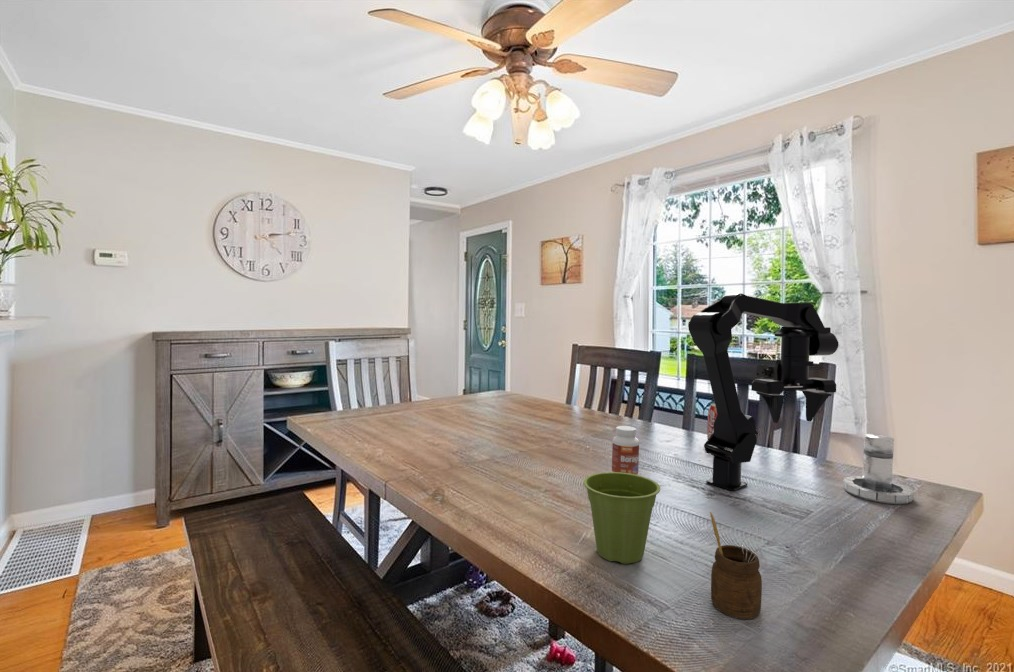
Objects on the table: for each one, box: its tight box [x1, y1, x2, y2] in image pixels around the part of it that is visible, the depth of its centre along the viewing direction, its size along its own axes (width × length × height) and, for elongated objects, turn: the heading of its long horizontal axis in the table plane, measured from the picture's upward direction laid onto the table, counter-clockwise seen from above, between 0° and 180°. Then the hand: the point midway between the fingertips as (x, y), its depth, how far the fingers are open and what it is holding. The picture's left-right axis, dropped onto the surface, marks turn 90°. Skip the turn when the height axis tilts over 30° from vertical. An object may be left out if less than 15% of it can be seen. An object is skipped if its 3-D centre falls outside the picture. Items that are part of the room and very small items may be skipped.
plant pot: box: [582, 471, 661, 565], centre depth 76 cm, size 12×12×11 cm
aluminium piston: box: [861, 433, 895, 493], centre depth 102 cm, size 5×5×12 cm
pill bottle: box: [611, 425, 640, 475], centre depth 113 cm, size 6×6×11 cm
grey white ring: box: [842, 475, 914, 506], centre depth 102 cm, size 12×12×2 cm
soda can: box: [706, 402, 717, 440], centre depth 139 cm, size 7×7×12 cm
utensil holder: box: [709, 511, 764, 620], centre depth 62 cm, size 6×6×12 cm
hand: (792, 421), depth 113 cm, fingers open, 9 cm apart
